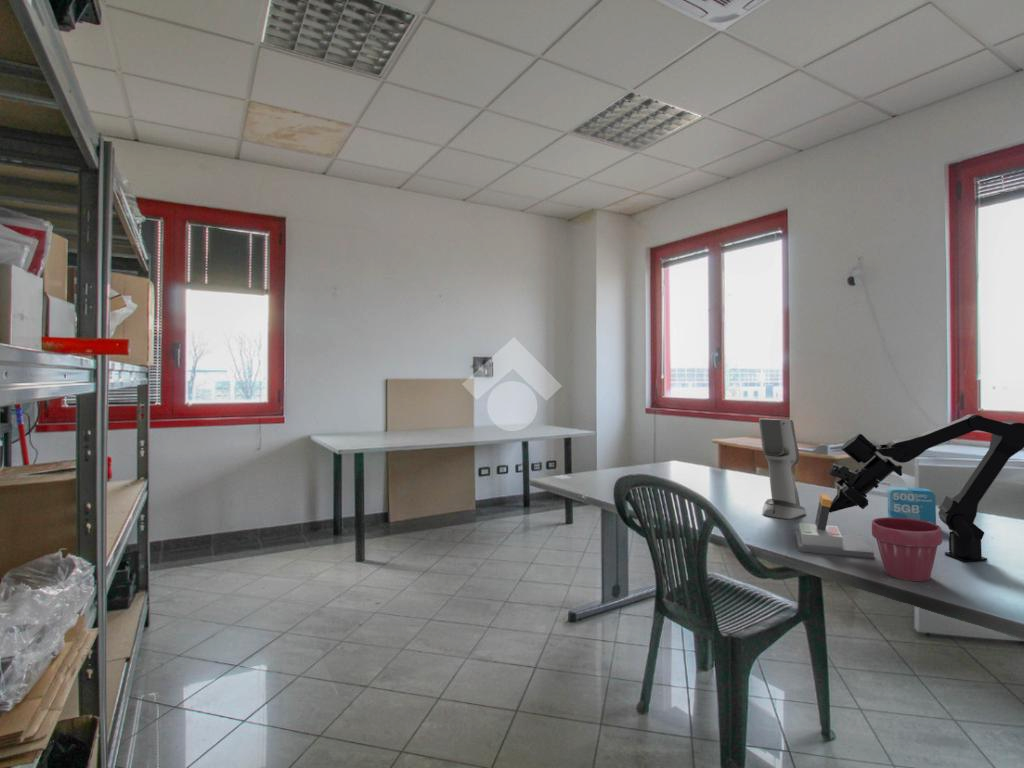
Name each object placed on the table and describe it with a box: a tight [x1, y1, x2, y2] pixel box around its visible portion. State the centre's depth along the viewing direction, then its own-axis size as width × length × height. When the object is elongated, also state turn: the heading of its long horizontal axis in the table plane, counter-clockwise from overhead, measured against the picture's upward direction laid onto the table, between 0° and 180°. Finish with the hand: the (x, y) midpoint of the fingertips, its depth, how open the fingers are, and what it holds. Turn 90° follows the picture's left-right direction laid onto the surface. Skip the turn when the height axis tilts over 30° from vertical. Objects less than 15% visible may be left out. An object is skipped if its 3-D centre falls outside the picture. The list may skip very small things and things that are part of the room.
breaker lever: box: [814, 493, 833, 531], centre depth 158 cm, size 2×7×9 cm, turn 156°
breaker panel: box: [794, 523, 875, 559], centre depth 157 cm, size 18×16×5 cm
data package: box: [886, 486, 937, 525], centre depth 175 cm, size 12×4×12 cm, turn 64°
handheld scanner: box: [758, 417, 807, 520], centre depth 194 cm, size 12×13×35 cm
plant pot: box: [871, 517, 943, 582], centre depth 134 cm, size 14×14×13 cm
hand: (828, 511), depth 157 cm, fingers closed, pressing on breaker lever
